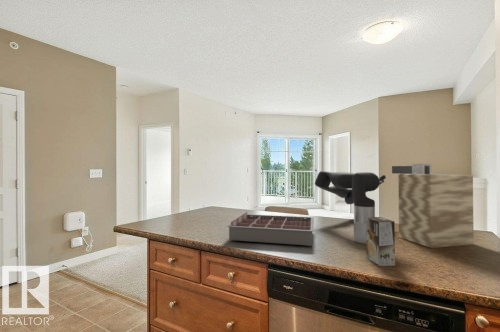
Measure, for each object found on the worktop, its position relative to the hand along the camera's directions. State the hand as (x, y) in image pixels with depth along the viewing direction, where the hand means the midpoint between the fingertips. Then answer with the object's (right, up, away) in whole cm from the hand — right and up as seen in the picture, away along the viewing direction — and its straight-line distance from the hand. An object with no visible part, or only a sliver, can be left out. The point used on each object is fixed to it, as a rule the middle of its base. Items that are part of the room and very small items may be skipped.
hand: (378, 176), depth 152 cm
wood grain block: (+12, -30, -29) cm, 44 cm away
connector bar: (+5, +2, -22) cm, 23 cm away
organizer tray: (-65, -31, -21) cm, 75 cm away
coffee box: (-28, -30, -56) cm, 70 cm away
